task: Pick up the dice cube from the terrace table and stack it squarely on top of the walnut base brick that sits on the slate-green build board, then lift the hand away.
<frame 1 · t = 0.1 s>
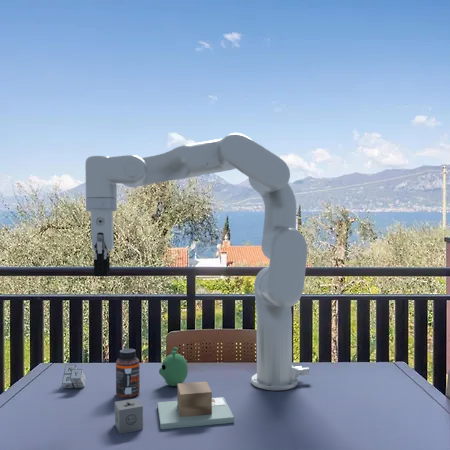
hand: (102, 273, 120), 31 cm above the table, tool pointing down, fingers open, 9 cm apart
base brick: (194, 398, 109), on the build board, point 4 cm above the table
supplement bottle: (127, 395, 122), on the table
build board: (194, 414, 109), on the table
alien toy: (173, 386, 128), on the table
dice cube: (128, 427, 103), on the table
building blocks: (75, 387, 128), on the table
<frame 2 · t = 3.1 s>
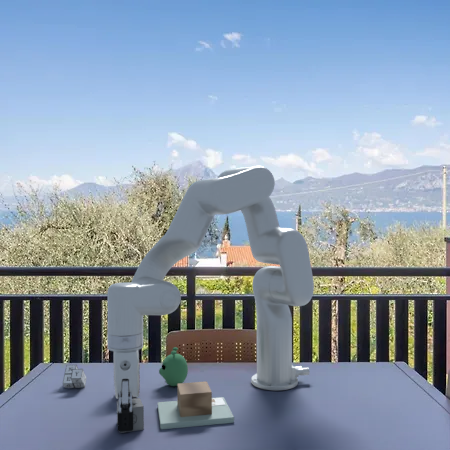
hand: (125, 423, 103), 1 cm above the table, tool pointing down, fingers closed on dice cube, 5 cm apart
dice cube: (130, 427, 103), on the table, touching gripper
everything else where it was.
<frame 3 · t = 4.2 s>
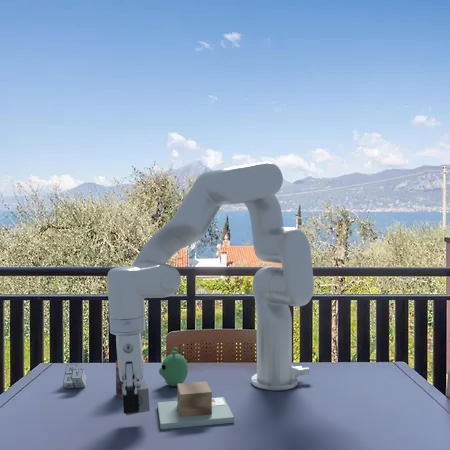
hand: (131, 405, 103), 4 cm above the table, tool pointing down, fingers closed on dice cube, 5 cm apart
dice cube: (136, 409, 104), point 3 cm above the table, touching gripper
everything else where it was.
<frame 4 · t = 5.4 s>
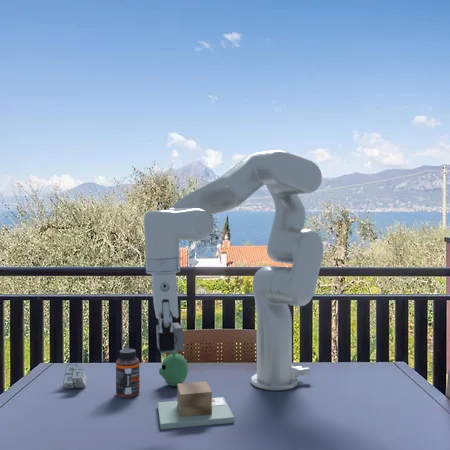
hand: (166, 345, 106), 17 cm above the table, tool pointing down, fingers closed on dice cube, 5 cm apart
dice cube: (170, 349, 106), point 16 cm above the table, touching gripper
everything else where it was.
when the fingers open (7 cm above the table, at t = 7.6 s): dice cube stays where it is, resting on base brick.
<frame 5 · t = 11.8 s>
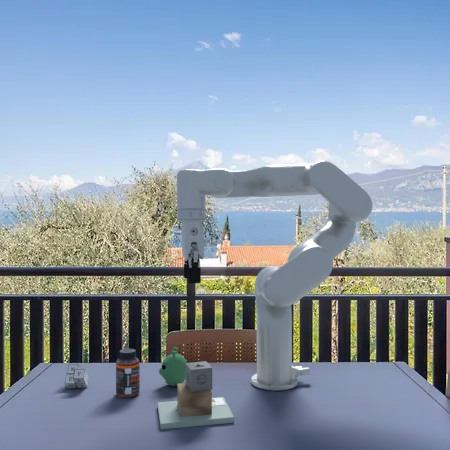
hand: (192, 280, 126), 28 cm above the table, tool pointing down, fingers open, 9 cm apart
dice cube: (198, 387, 109), point 6 cm above the table, touching base brick
everything else where it was.
at the end: dice cube 1.1 cm from the base brick (horizontally); dice cube point 6.0 cm above the table; dice cube tilted 0° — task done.
